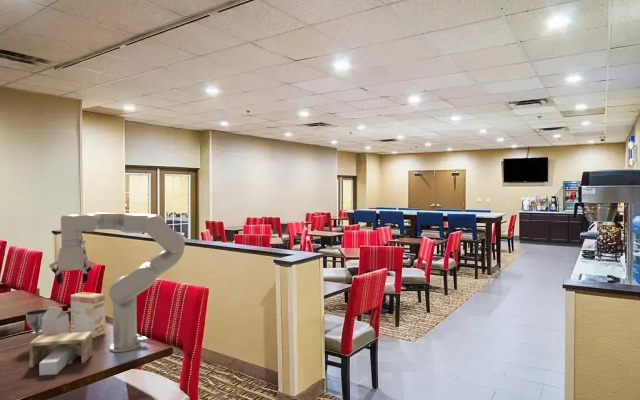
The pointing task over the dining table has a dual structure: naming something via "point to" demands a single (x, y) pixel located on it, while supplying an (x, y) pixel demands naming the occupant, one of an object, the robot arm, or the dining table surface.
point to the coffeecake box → (88, 313)
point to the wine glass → (35, 320)
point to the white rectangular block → (56, 360)
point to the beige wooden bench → (50, 342)
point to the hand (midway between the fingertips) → (72, 283)
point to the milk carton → (55, 321)
